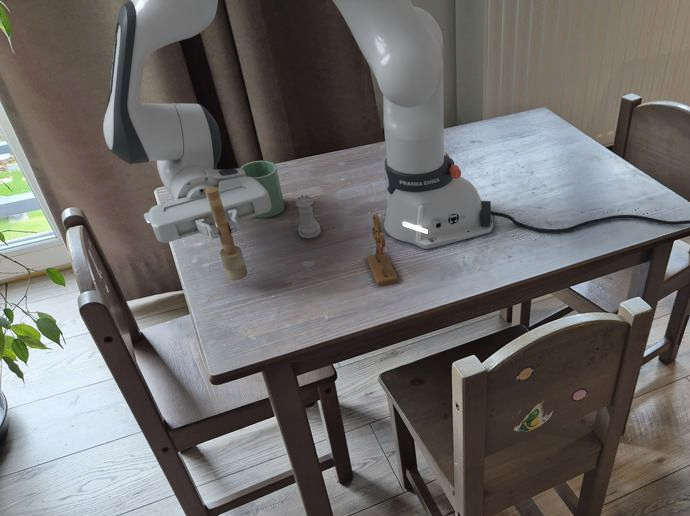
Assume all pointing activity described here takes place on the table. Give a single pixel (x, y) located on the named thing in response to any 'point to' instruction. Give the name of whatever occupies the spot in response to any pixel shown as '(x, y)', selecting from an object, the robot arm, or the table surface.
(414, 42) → the robot arm
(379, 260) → the wooden figure on stand
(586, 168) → the table surface
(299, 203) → the rook chess piece
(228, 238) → the bottle brush
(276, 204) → the green pen holder
